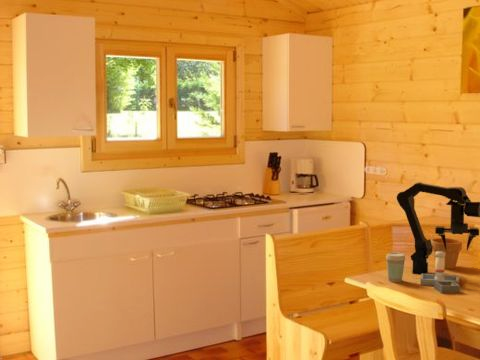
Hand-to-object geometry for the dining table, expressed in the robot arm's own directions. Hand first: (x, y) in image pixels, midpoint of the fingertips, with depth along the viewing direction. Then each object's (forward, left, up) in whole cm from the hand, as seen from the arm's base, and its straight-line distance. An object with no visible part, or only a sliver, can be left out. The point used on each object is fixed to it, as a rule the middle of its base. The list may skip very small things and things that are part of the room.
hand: (456, 249), depth 302 cm
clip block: (-4, -24, -13) cm, 27 cm away
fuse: (-7, -12, -12) cm, 18 cm away
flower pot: (-4, +21, -13) cm, 25 cm away
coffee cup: (-26, -13, -13) cm, 32 cm away
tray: (-7, -12, -13) cm, 19 cm away
